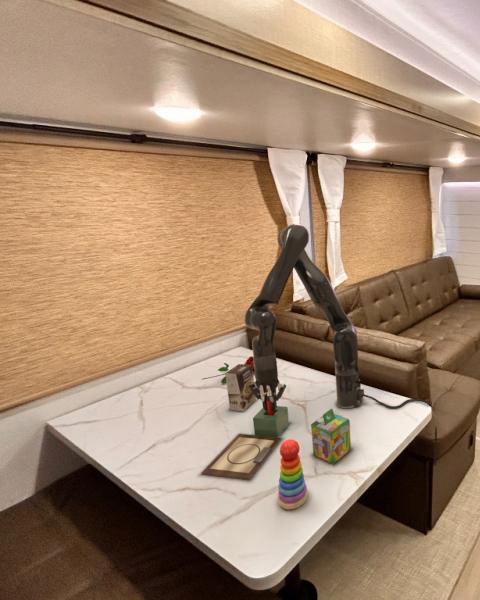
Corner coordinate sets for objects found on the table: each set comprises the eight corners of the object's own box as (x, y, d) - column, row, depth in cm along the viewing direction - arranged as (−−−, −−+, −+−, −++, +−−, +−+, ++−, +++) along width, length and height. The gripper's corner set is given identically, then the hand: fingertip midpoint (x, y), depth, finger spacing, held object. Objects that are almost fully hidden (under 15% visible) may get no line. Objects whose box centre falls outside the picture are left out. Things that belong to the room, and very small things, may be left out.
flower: (203, 366, 161) (265, 350, 185) (195, 371, 167) (256, 355, 190) (209, 387, 160) (271, 368, 184) (201, 391, 166) (261, 372, 189)
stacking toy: (274, 511, 100) (267, 450, 95) (283, 488, 107) (277, 431, 103) (304, 510, 100) (298, 450, 95) (310, 488, 107) (306, 431, 103)
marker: (276, 427, 136) (273, 395, 133) (273, 431, 134) (270, 398, 131) (271, 427, 137) (267, 395, 133) (268, 430, 135) (264, 398, 131)
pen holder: (289, 423, 139) (287, 406, 137) (277, 437, 131) (276, 420, 129) (267, 421, 141) (265, 404, 139) (254, 435, 132) (252, 418, 130)
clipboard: (281, 439, 130) (281, 436, 130) (250, 480, 111) (249, 476, 111) (239, 435, 132) (238, 431, 132) (201, 474, 113) (200, 470, 113)
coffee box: (243, 411, 147) (239, 374, 143) (229, 410, 149) (224, 373, 144) (256, 400, 156) (252, 364, 152) (243, 398, 157) (238, 363, 153)
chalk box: (333, 465, 117) (330, 423, 113) (312, 455, 122) (309, 415, 118) (352, 449, 124) (350, 409, 121) (331, 440, 129) (329, 402, 125)
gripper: (240, 368, 127) (246, 413, 131) (278, 371, 124) (283, 417, 129) (252, 359, 134) (257, 402, 138) (288, 361, 132) (293, 405, 136)
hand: (270, 409), depth 134 cm, fingers closed on marker, 2 cm apart
